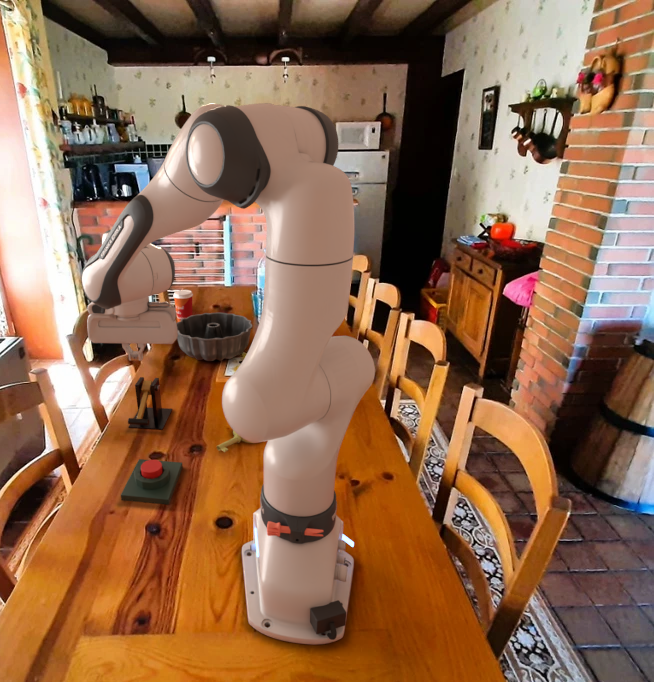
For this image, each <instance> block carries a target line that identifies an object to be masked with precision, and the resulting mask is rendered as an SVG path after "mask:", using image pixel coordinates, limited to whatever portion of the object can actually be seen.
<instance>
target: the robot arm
mask: <svg viewBox="0 0 654 682" xmlns="http://www.w3.org/2000/svg"><path fill="white" fill-rule="evenodd" d="M338 153H339V134H338V131H337V129H336V126H335V124H334V123H333V120H331V118H330V116H328V115H326V113H324V112H322V111H320V110H318V109H317V108H316V109H315V108H312V107H310V106H305V105H298V106H290V105H282V104H281V105H280V104H273V103H268V102H263V103H262V102H261V103H260V102H259V103H249V104H248V103H247V104H242V105H241V104H240V105H235V106H234V105H231V104H230V105H229V104H228V105H224V104H220V103H206V104H203V105H201V106H199V107H198V108H196V109H195V110H194V111H193V112H192V114H191V115H190V116H189V117H188V118H187V120H186V121H185V123H183V126H182V127H181V128H180V130H179V131H178V133H177V135H176V137H175V138H174V140H173V141H172V144H171V145H170V147H169V149H168V151H167V153H166V156H165V158H164V160H163V162H162V164H161V166H160V167H159V168H158V170H157V171H156V173H155V174H154V176H153V177H152V179H151V180H150V181H149V182H148V183H147V185H146V186H145V187H144V188H143V189H142V190H141V191H139V193H138V194H137V195H136V196H135V197H133V198H132V199H131V200H130V201H129V202H128V203H127V204H126V206H125V207H124V208H123V210H122V211H121V212H120V214H119V216H118V217H117V219H116V221H115V222H114V224H113V225H112V227H111V229H109V230H106V231H105V232H104V233H102V236H101V237H102V238H101V246H100V247H99V249H98V250H97V252H96V253H95V254H93V255H92V256H90V257H89V259H88V260H87V261H86V263H85V264H84V267H83V269H82V272H81V286H82V289H83V292H84V294H85V297H86V298H87V299H88V300H89V301H90V303H89V304H88V305H87V312H88V314H89V315H88V316H87V319H86V326H87V327H86V328H87V336H88V339H89V340H90V342H91V343H92V344H121V346H122V347H121V348H122V349H123V350H124V351H125V353H126V354H127V356H128V361H129V362H133V361H134V362H142V361H143V360H144V353H143V352H144V350H145V348H146V346H147V345H150V344H151V345H172V344H174V343H175V342H176V341H177V340H178V339H177V337H178V330H177V325H176V323H177V321H176V320H177V314H176V307H175V306H174V305H173V304H172V303H169V302H168V301H162V302H159V301H150V297H152V296H155V295H159V294H162V293H164V292H166V291H169V290H170V289H171V288H172V286H173V284H174V281H175V277H176V266H175V261H174V259H173V256H172V255H171V254H170V253H169V252H168V251H167V250H166V249H165V248H164V247H162V246H159V245H158V246H157V245H155V244H153V243H154V242H156V241H158V240H160V239H163V238H165V237H168V236H171V235H173V234H177V233H180V232H184V231H188V230H189V229H193V228H196V227H199V226H200V225H202V224H203V223H205V222H206V221H207V220H209V218H210V217H212V216H213V215H214V214H215V213H216V212H217V211H218V210H219V208H220V207H221V205H222V204H223V202H224V200H225V201H227V202H229V203H231V204H232V205H233V206H234V207H236V208H240V209H243V210H245V209H247V208H248V207H251V206H252V205H253V204H254V203H255V204H256V205H258V206H259V208H260V209H261V211H262V212H263V214H264V218H265V224H266V225H265V226H266V234H265V235H266V237H265V262H264V263H265V265H264V289H263V303H262V308H261V309H262V310H261V314H260V319H259V322H258V325H257V329H256V331H255V334H254V337H253V339H252V342H251V344H250V346H249V349H248V350H247V353H246V355H245V357H244V358H243V360H242V362H241V363H240V365H239V366H238V367H237V369H236V370H235V371H234V373H232V375H231V376H230V377H229V378H228V379H227V380H226V382H225V384H224V386H223V390H222V393H221V395H222V396H221V407H222V412H223V415H224V417H225V420H226V422H227V424H228V426H229V427H230V428H231V429H232V431H233V430H234V431H235V432H236V433H237V434H238V435H239V436H241V437H242V438H243V439H245V440H247V441H249V442H253V443H252V444H258V443H262V442H263V443H264V442H266V444H265V447H264V450H263V455H262V456H263V484H262V485H261V489H260V490H261V491H260V497H259V498H260V500H259V501H260V502H259V504H260V507H259V508H258V509H256V510H255V511H254V512H253V513H252V518H253V519H252V522H253V525H252V526H253V528H252V529H253V532H252V533H253V534H252V535H253V537H252V539H253V540H250V541H248V542H245V543H244V544H243V545H242V547H241V562H242V572H243V580H244V581H243V582H244V583H243V584H244V593H245V603H246V614H247V621H248V624H249V625H250V627H252V628H253V629H254V630H256V631H257V632H259V633H261V634H263V635H265V636H267V637H270V638H272V639H275V640H279V641H284V642H287V643H288V642H289V643H294V644H301V645H325V644H330V643H334V642H336V641H339V640H341V639H343V637H344V635H345V630H346V624H347V617H348V611H349V603H350V597H351V590H352V583H353V576H354V568H355V559H354V557H353V556H352V555H351V554H349V552H346V548H347V544H348V545H349V546H350V547H352V548H354V546H355V542H354V541H353V540H352V539H350V538H349V537H348V536H346V535H345V534H344V521H343V520H342V519H341V518H340V517H339V516H338V515H337V511H338V501H337V493H336V490H335V483H336V473H337V465H338V463H337V462H338V457H339V453H340V449H341V447H342V443H343V440H344V438H345V436H346V433H347V431H348V428H349V426H350V423H351V420H352V418H353V416H354V413H355V411H356V410H357V409H356V408H357V407H358V405H359V403H360V401H361V400H362V399H363V397H364V396H365V395H366V393H367V391H369V389H370V387H371V386H372V384H373V383H374V381H375V375H376V368H375V362H374V359H373V357H372V354H371V353H370V351H369V349H368V348H367V347H366V346H365V345H364V343H362V342H361V341H360V340H359V339H356V338H355V337H352V336H350V335H349V336H348V335H336V336H335V335H334V334H335V332H336V331H337V330H338V329H339V327H341V326H342V323H343V322H344V320H345V318H346V316H347V314H348V311H349V303H350V293H351V282H352V273H353V272H352V271H353V260H354V251H355V228H356V227H355V205H354V204H355V203H354V194H353V186H352V182H351V180H350V178H349V177H348V175H347V174H346V173H345V172H344V171H343V170H342V169H340V168H338V167H336V166H334V165H335V163H336V160H337V157H338ZM132 344H135V345H136V344H137V348H139V350H133V348H132V347H131V345H132Z"/></svg>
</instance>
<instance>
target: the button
mask: <svg viewBox="0 0 654 682" xmlns="http://www.w3.org/2000/svg"><path fill="white" fill-rule="evenodd" d="M147 460H148V461H145V462H144V463H143V464H142V465H141V473H142V476H143V477H144V478H147V479H153V478H157V477H159V476H160V475H161V474H162V472H163V471H162V464H161V462H160V461H161V460H159V459H147Z"/></svg>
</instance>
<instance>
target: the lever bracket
mask: <svg viewBox="0 0 654 682" xmlns="http://www.w3.org/2000/svg"><path fill="white" fill-rule="evenodd" d="M144 380H145V377H144V376H140V377H139V378H138V380H137V381H136V383H135V384H134V388H135V389H134V390H135V397H136V404H137V405H136V406H137V412H136V413H135V415H134V417H133V418H136V419H137V415H138V412H139V408H140V404H141V401H142V397H143V392H142V390H141V389H142V385H143V381H144ZM150 388H151V395H150V397H151V406H150V407H148V401H147V402H146V406H145V410H144V414H143V418H142V419H149V425H135V424H128V429H141V430H155V431H163V430H164V428H165V426H166V424H167V422H168V420H169V417H170V416H171V413H172V412H173V408H166V407H162V395H161V386H160V378H159V377H154V379H153V380H152V384H151V385H150Z"/></svg>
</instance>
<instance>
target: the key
mask: <svg viewBox="0 0 654 682" xmlns="http://www.w3.org/2000/svg"><path fill="white" fill-rule="evenodd" d="M232 434H233V437H232V438H230V439H228V440H226V441H224V442H222V443H220V444H218V445H216V450H217V451H222V452H223V453H226V452H229V448H228V447H230V446H231V445H235V443H237V444H239V443H241V442H244V443H247V444H254V443H253V442H249V441H247V440H245V439H243V438H242V437H241V436H239V435H238V434H237V433H236V432H235V431H234V430H233V429H232Z"/></svg>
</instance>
